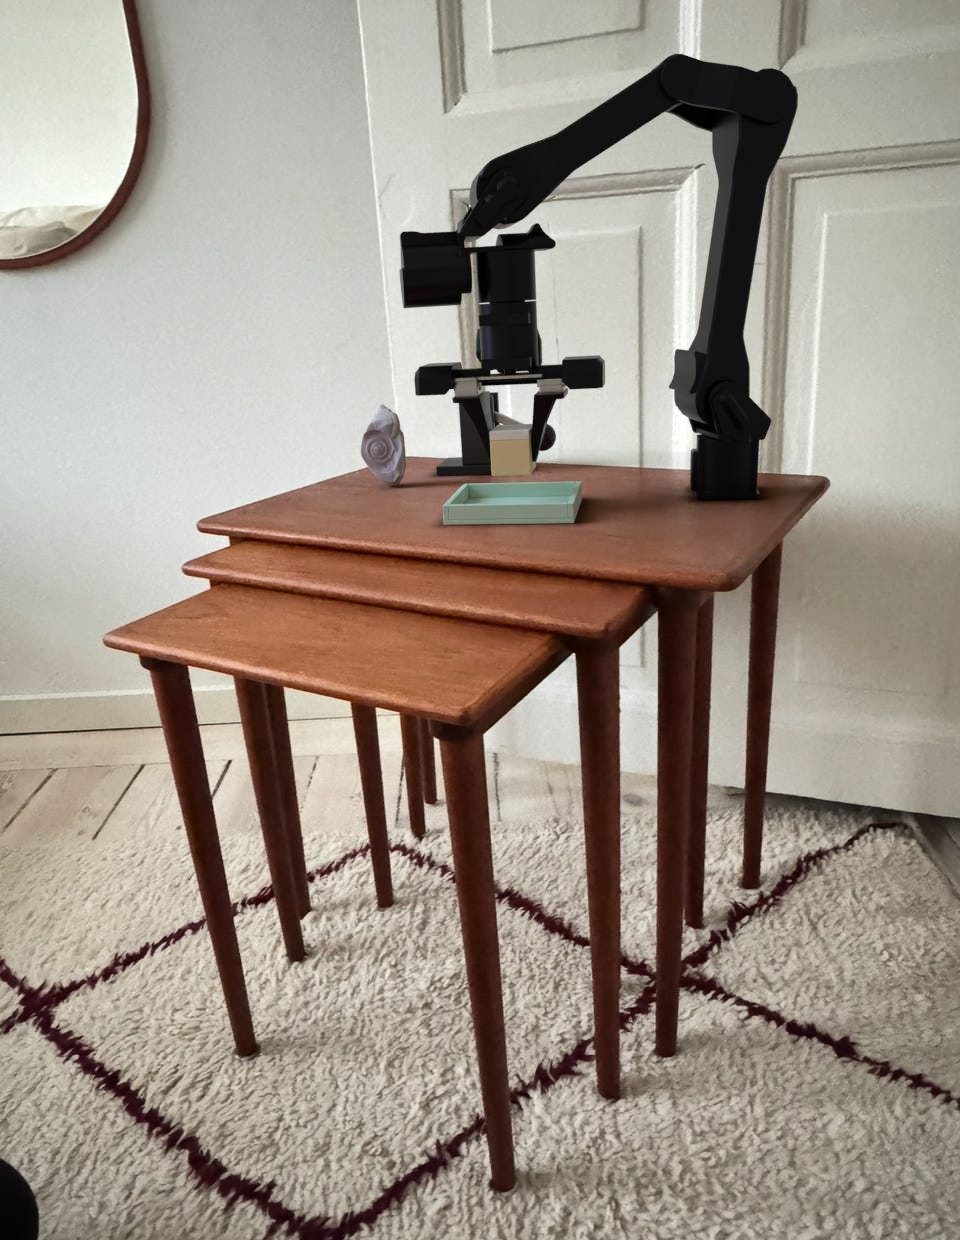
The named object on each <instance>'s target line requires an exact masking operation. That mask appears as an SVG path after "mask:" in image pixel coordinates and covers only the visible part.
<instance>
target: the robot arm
mask: <svg viewBox="0 0 960 1240" xmlns="http://www.w3.org/2000/svg"><path fill="white" fill-rule="evenodd" d="M798 99H799V94H798V88H797V86H796V85H794V83H793V82H792V81H791V79H790V77H789V76H788V75H787V74H785V73H784V72H783V71H782V70H779V69H776V68H773V67H769V68H762V69H759V70H757V71H756V70H752V69H749V68H746V67H744V66H740V65H733V64H726V63H718V62H712V61H705V60H701V59H698V58H696V57H693V56H689V55H687V54H684V53H674V54H671V55H669V56H667V57H666V58H665V59H663V60H662V61H661V62H660V63H658V64H657V65H656V66H655V67H653V68H652V69H651V71H649V72H648V73H647V74H645V75H644V76H642V77H641V78H639V79H637V80H635V81H634V82H632V83H631V84H630V85H628V86H626V87H625V88H623V89H622V90H620V91H619V92H618V93H616V94H614V95H613V96H611V97H610V98H608V99H607V100H606V101H603V103H601V104H599V105H598V106H596V107H595V108H593V109H592V110H590V111H589V112H586V114H584V115H582V116H581V117H580V118H578V119H577V120H575V121H573V122H572V123H570V124H569V125H567V126H566V127H564V128H562V129H561V130H560V131H558V132H557V133H555V134H553V135H550V136H548V137H544V138H543V139H540V140H537V141H534V142H530V143H528V144H525V145H522V146H520V147H518V148H516V149H513V150H510V151H509V152H506V153H503V154H501V155H499V156H497V157H495V158H492V159H491V160H489V161H488V162H487V163H486V164H485V165H484V166H483V167H482V168H481V170H479V172H478V173H477V174H476V176H475V177H474V178H473V180H472V181H471V185H470V190H469V194H468V195H469V206H470V207H469V208H468V210H467V211H466V213H465V214H464V216H463V218H462V219H460V220H459V221H458V222H457V223H456V229H455V231H439V232H438V231H435V232H420V231H415V230H411V231H401V233H400V234H399V245H400V251H399V252H400V265H401V266H400V269H399V282H400V283H399V284H400V293H401V301H402V307H403V309H415V308H417V309H418V308H430V307H431V308H435V307H447V306H449V307H450V306H461V305H462V301H463V300H462V298H463V295H464V294H472V291H473V269H472V259H471V255H472V256H473V255H475V268H476V284H477V285H476V287H477V288H476V289H477V303H478V304H477V306H478V307H477V308H478V309H477V310H478V327H479V328H478V329H476V337H475V357H476V358H477V361H478V362H479V363H480V364H481V365H480V367H473V368H471V367H470V368H463V365H462V362H461V361H454V362H453V361H452V362H451V361H450V362H433V363H431V362H430V363H427V364H424V365H421V366H419V367H418V368H417V369H416V370H415V372H414V379H413V381H414V391H415V392H414V393H415V396H417V397H418V396H419V397H423V396H425V397H426V396H445V395H446V394H447V393H448V392H449V391H450V390H453V394H454V396H453V397H451V398H452V403H453V404H459V403H461V404H462V405H463V407H464V408H465V410H466V412H467V413H468V415H469V417H470V419H471V420H472V422H473V424H474V425H475V427H476V429H477V432H478V433H479V436H480V438H481V441H482V443H483V445H484V447H485V450H486V452H487V454H488V457H489V459H490V461H491V452H490V433H489V432H490V431H491V430H492V429H493V424H492V417H491V412H490V390H489V391H488V390H485V391H484V389H485V388H486V387H490V386H513V385H514V386H517V385H536V386H537V388H538V389H539V390H538V391H537V392H536V393H535V394H534V395H533V403H532V404H533V406H532V422H531V424H532V440H531V450H532V461H533V462H536V463H537V461H538V459H539V458H538V457H539V455H540V452H541V451H540V447H541V443H542V439H543V436H544V432H545V428H546V425H547V424H548V421H549V418H550V416H551V413H552V412H553V411H552V410H553V409H554V406H555V404H556V402H557V400H563V399H565V398H566V397H567V395H568V394H569V390H589V389H591V390H592V389H602V388H604V386H605V384H606V360H605V359H604V358H602V356H601V355H599V354H596V355H579V356H578V355H576V356H575V355H574V356H565V357H564V358H563V359H561V360H562V361H561V363H557V364H543V342H542V337H541V334H540V332H539V329H538V313H537V312H538V310H537V309H538V308H537V279H536V278H537V277H536V252H543V251H549V250H551V249H554V248H555V247H556V245H557V243H556V240H555V239H553V238H552V237H551V236H549V235H548V234H547V233H546V232H545V231H544V229H543V228H542V226H541V224H540V223H538V222H536V223H534V224H532V225H531V226H530V228H529V229H528V230H527V232H517V233H516V232H515V233H514V232H513V233H499V234H497V237H496V240H495V245H485V246H468V247H465V243H472V242H476V241H478V240H479V239H481V238H482V237H484V236H485V235H487V234H488V233H489V232H491V231H492V230H493V229H494V230H504V229H508V228H510V227H512V226H514V225H515V224H517V223H519V222H521V221H523V220H524V219H525V218H527V217H528V216H529V215H530V214H531V213H532V212H533V211H534V210H535V209H536V208H538V207H539V206H540V204H542V203H543V202H544V201H545V200H546V199H547V198H548V197H549V196H550V195H551V194H552V193H553V192H554V191H555V190H556V189H557V188H558V187H559V186H560V185H561V184H562V183H563V182H564V181H565V180H566V179H567V178H568V177H569V176H570V175H572V173H573V172H575V171H576V170H578V169H579V168H580V167H582V166H584V165H585V164H587V163H588V162H590V161H592V160H594V158H596V157H598V156H599V155H601V154H602V153H603V152H605V151H607V150H608V149H609V148H611V147H614V145H616V144H618V143H619V142H621V141H622V140H623V139H625V138H626V137H628V136H630V135H632V134H633V133H635V132H637V130H639V129H640V128H642V127H643V126H645V125H647V124H649V123H650V122H651V121H653V120H655V119H656V118H658V117H659V116H660V115H662V114H664V113H668V114H670V115H674V116H675V117H678V118H679V119H681V120H683V122H686V123H688V124H689V125H691V126H693V127H695V128H697V129H700V130H704V131H706V132H710V133H711V141H712V142H711V143H712V144H711V145H712V146H711V147H712V149H711V151H712V158H713V161H714V165H715V170H716V176H717V182H718V183H717V184H718V187H717V194H716V201H715V207H714V213H713V214H714V215H713V221H712V222H713V223H712V229H711V236H710V242H709V249H708V250H709V251H708V255H707V264H706V271H705V277H704V284H703V292H702V297H701V298H702V299H701V306H700V313H699V319H698V327H697V331H696V333H695V336H694V339H693V340H692V342H691V344H690V346H689V348H688V349H681V348H676V349H675V351H674V357H673V360H674V361H673V362H674V365H673V367H674V369H673V376H672V380H671V381H670V383H669V385H668V389H670V390H673V392H674V393H673V400H674V403H675V406H676V407H677V409H678V410H679V412H680V413H681V414H682V415H683V416H685V417H686V418H687V419H688V421H689V425H690V427H691V431H692V433H695V434H696V446H695V447H696V448H691V450H690V467H689V487H690V488H689V489H690V491H692V492H694V496H695V499H697V500H713V499H714V500H717V499H719V500H720V499H721V500H722V499H723V500H725V499H759V498H760V495H761V494H760V491H759V490H758V479H759V475H758V474H759V457H760V441H764V440H765V439H766V438H767V435H768V432H769V430H770V426H771V425H772V418H771V417H770V416H769V415H768V414H767V413H766V412H765V411H764V410H763V409H762V408H761V407H760V406H759V405H758V404H757V403H756V402H755V401H754V400H753V399H752V398H751V397H750V396H751V395H750V393H751V391H750V389H751V387H750V386H751V380H750V377H751V372H750V371H751V367H750V362H749V356H748V352H747V348H746V344H745V338H744V336H745V325H746V319H747V312H748V309H749V308H748V307H749V301H750V294H751V287H752V282H753V275H754V269H755V264H756V257H757V251H758V250H757V249H758V244H759V238H760V232H761V225H762V218H763V213H764V205H765V202H766V201H765V200H766V194H767V188H768V183H769V180H770V178H771V176H772V173H773V171H774V170H775V167H776V166H777V164H778V162H779V160H780V158H781V156H782V154H783V152H784V150H785V148H786V145H787V143H788V140H789V137H790V133H791V130H792V126H793V125H794V121H795V117H796V115H797V110H798V107H799V106H798V105H799V100H798ZM492 371H496V373H492Z"/></svg>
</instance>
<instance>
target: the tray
mask: <svg viewBox="0 0 960 1240" xmlns="http://www.w3.org/2000/svg"><path fill="white" fill-rule="evenodd" d="M582 500H583V482H582V480H579V481H577V480H576V481H575V480H574V481H530V482H527V481H525V482H524V481H523V482H481V483H479V482H478V483H475V482H473V483H463V484H462V485H461V486H460V487H459V488H458V489H457V490H456V491H455V492H454V493H453V494H452V495H451V497H449V498H448V499H447V500H446V501H445V502H444V503H443V505H442V515H443V517H442V519H443V525H446V526H449V525H451V526H454V525H455V526H456V525H457V526H458V525H459V526H460V525H464V526H465V525H531V524H532V525H535V524H536V525H538V524H539V525H540V524H541V525H542V524H547V525H549V524H574V523H575V521H576V518H577V515H578V512H579V509H580V506H581V503H582Z"/></svg>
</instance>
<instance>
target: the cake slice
mask: <svg viewBox="0 0 960 1240" xmlns="http://www.w3.org/2000/svg"><path fill="white" fill-rule="evenodd" d="M489 433H490V452H491V471H492V474H491V477H514V476H515V477H519V476H531V475H532V473H533V472H534V471H535V469H536V467H537V461H536V462H533V461H532V450H531V440H532V423H523V424H513V425H503V424H500V425H497V426H496V427H495V428H494V429H492V430H491V431H490V432H489Z"/></svg>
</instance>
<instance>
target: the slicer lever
mask: <svg viewBox="0 0 960 1240" xmlns="http://www.w3.org/2000/svg"><path fill="white" fill-rule="evenodd" d="M494 420H495V421H496V422H499V423H500V425H513V424H524V422H521V421H518V420H517V419H514V418H512V417H509V416H507V415H505V414H504V413H501V412H500V411H499V412H496V411H494ZM556 441H557V433H556V430H555V428H554V427H553V426H552V425H551V424H548V423H547V425H546V428H545V432H544V436H543V439H542V443H541V447H540V451H539V452H545V451H546V452H547V451H549V450H550V449H552V447H554V445H555V443H556Z"/></svg>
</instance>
